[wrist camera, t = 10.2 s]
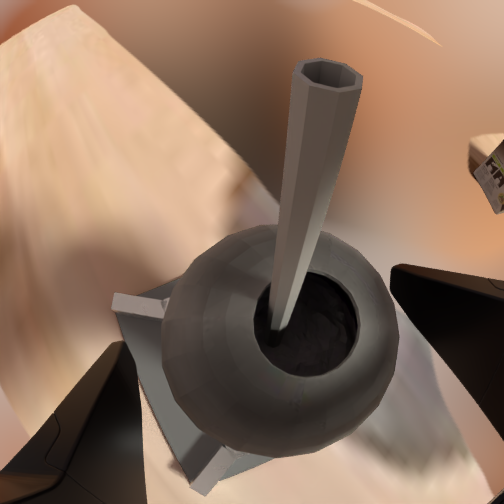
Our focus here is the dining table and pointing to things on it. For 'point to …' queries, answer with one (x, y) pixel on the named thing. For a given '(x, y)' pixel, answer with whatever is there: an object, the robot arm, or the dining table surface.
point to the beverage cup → (286, 303)
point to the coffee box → (493, 178)
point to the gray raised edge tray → (162, 401)
